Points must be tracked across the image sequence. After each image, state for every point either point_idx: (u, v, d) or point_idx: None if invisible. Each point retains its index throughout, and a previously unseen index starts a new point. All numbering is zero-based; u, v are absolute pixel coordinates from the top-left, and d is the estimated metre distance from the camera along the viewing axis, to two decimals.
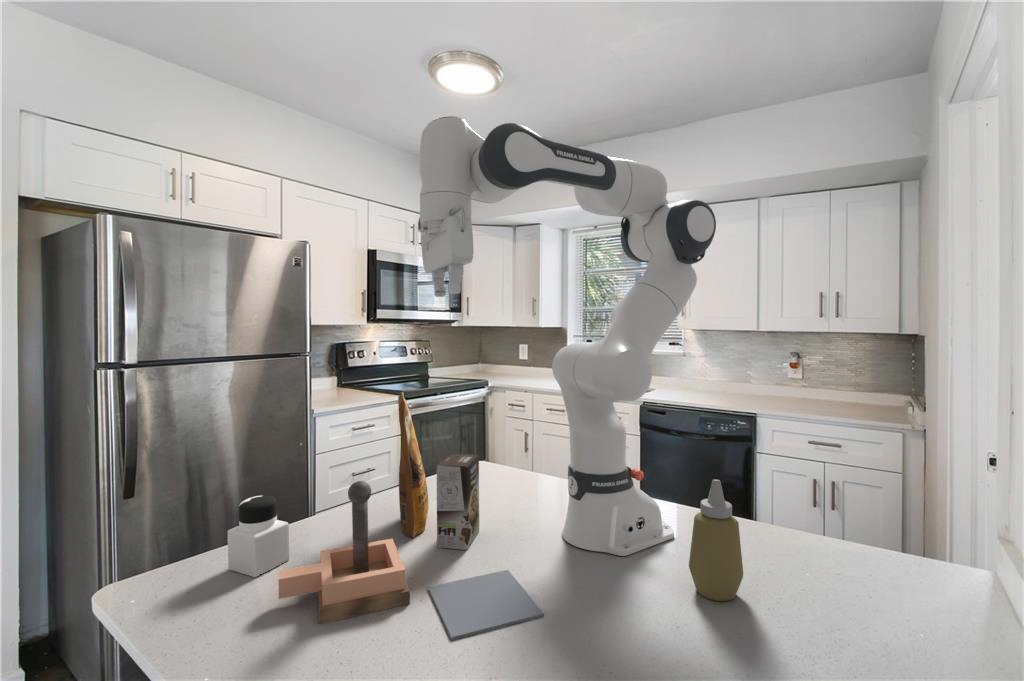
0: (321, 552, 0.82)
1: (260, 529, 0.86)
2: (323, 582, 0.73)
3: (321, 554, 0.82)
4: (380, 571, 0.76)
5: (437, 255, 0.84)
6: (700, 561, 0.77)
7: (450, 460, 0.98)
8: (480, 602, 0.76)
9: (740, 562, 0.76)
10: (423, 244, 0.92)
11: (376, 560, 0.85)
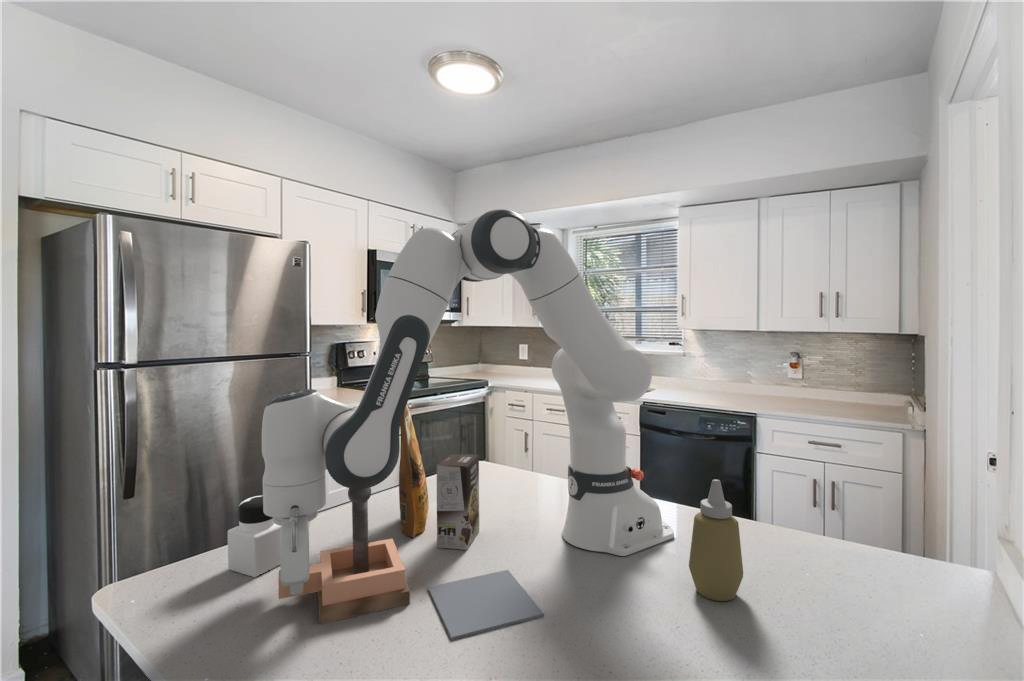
0: (321, 552, 0.82)
1: (260, 529, 0.86)
2: (323, 582, 0.73)
3: (321, 554, 0.82)
4: (380, 571, 0.76)
5: None
6: (700, 561, 0.77)
7: (450, 460, 0.98)
8: (480, 602, 0.76)
9: (740, 562, 0.76)
10: None
11: (376, 560, 0.85)
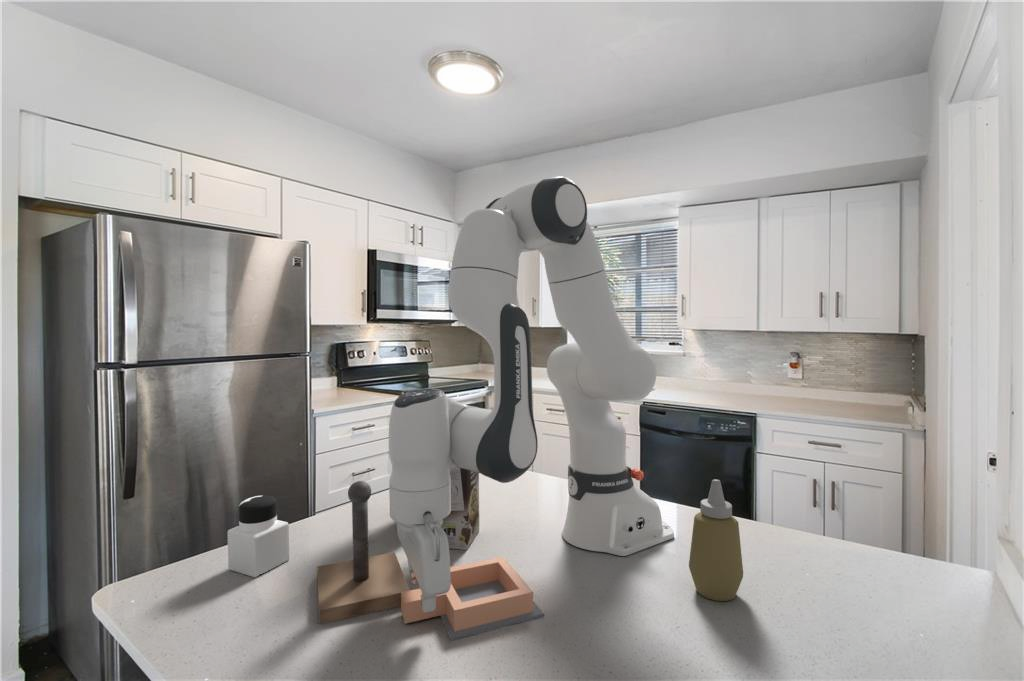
0: None
1: (260, 529, 0.86)
2: (454, 606, 0.69)
3: None
4: (508, 594, 0.72)
5: (410, 554, 0.71)
6: (700, 561, 0.77)
7: None
8: None
9: (740, 562, 0.76)
10: None
11: (489, 580, 0.82)
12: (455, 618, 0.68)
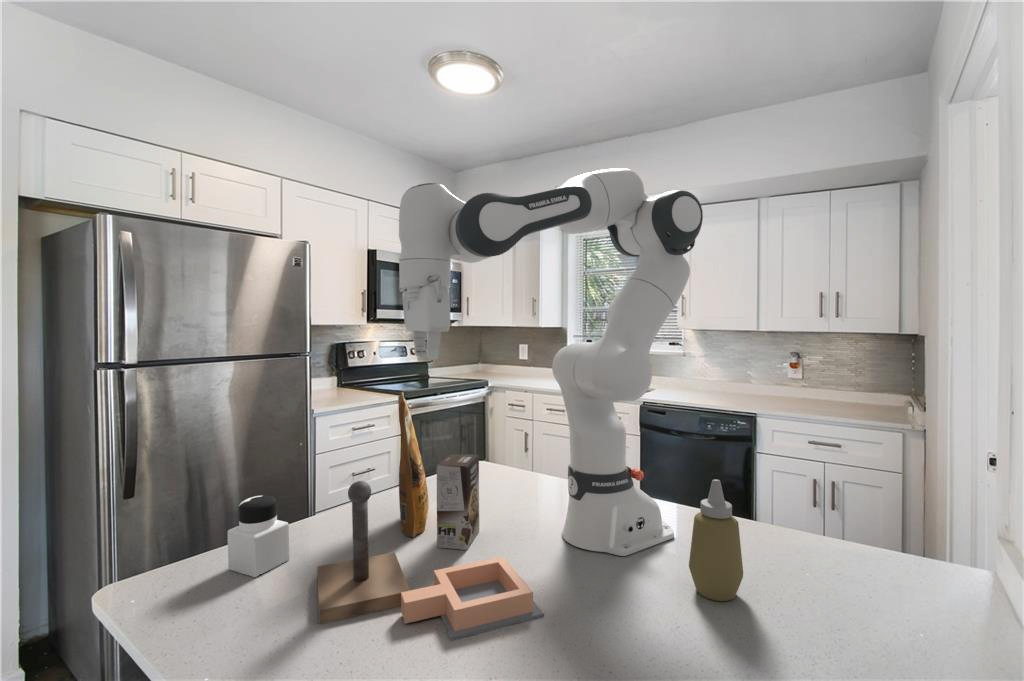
0: (436, 572, 0.79)
1: (260, 529, 0.86)
2: (454, 606, 0.69)
3: (437, 574, 0.78)
4: (508, 594, 0.72)
5: (416, 319, 0.85)
6: (700, 561, 0.77)
7: (450, 460, 0.98)
8: None
9: (740, 562, 0.76)
10: (404, 303, 0.93)
11: (489, 580, 0.82)
12: (455, 618, 0.68)
